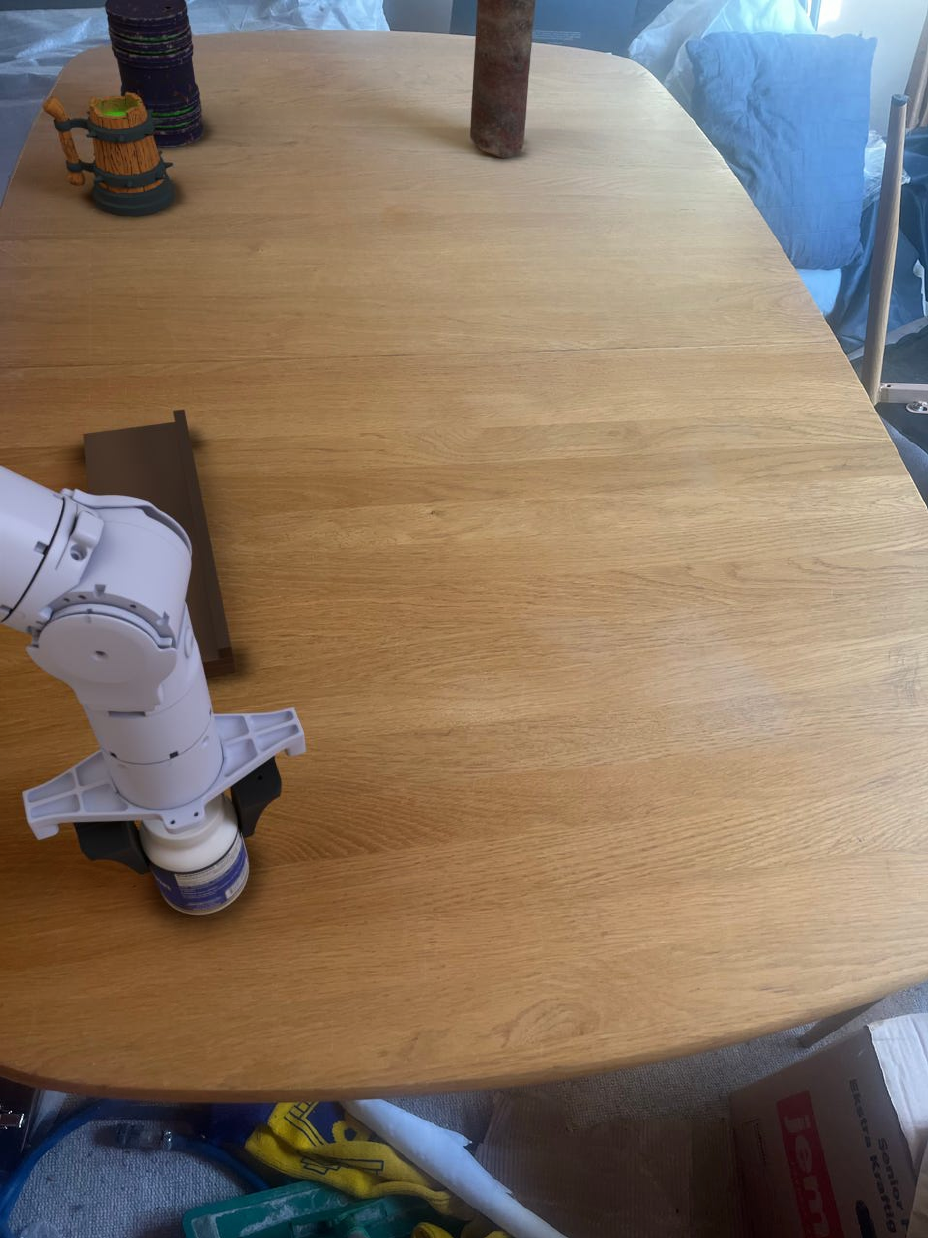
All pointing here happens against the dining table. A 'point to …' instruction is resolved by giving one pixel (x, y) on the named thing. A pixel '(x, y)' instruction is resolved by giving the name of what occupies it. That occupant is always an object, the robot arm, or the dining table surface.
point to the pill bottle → (199, 859)
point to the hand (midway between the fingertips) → (193, 841)
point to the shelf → (168, 479)
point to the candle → (501, 75)
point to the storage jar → (158, 64)
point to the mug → (118, 155)
